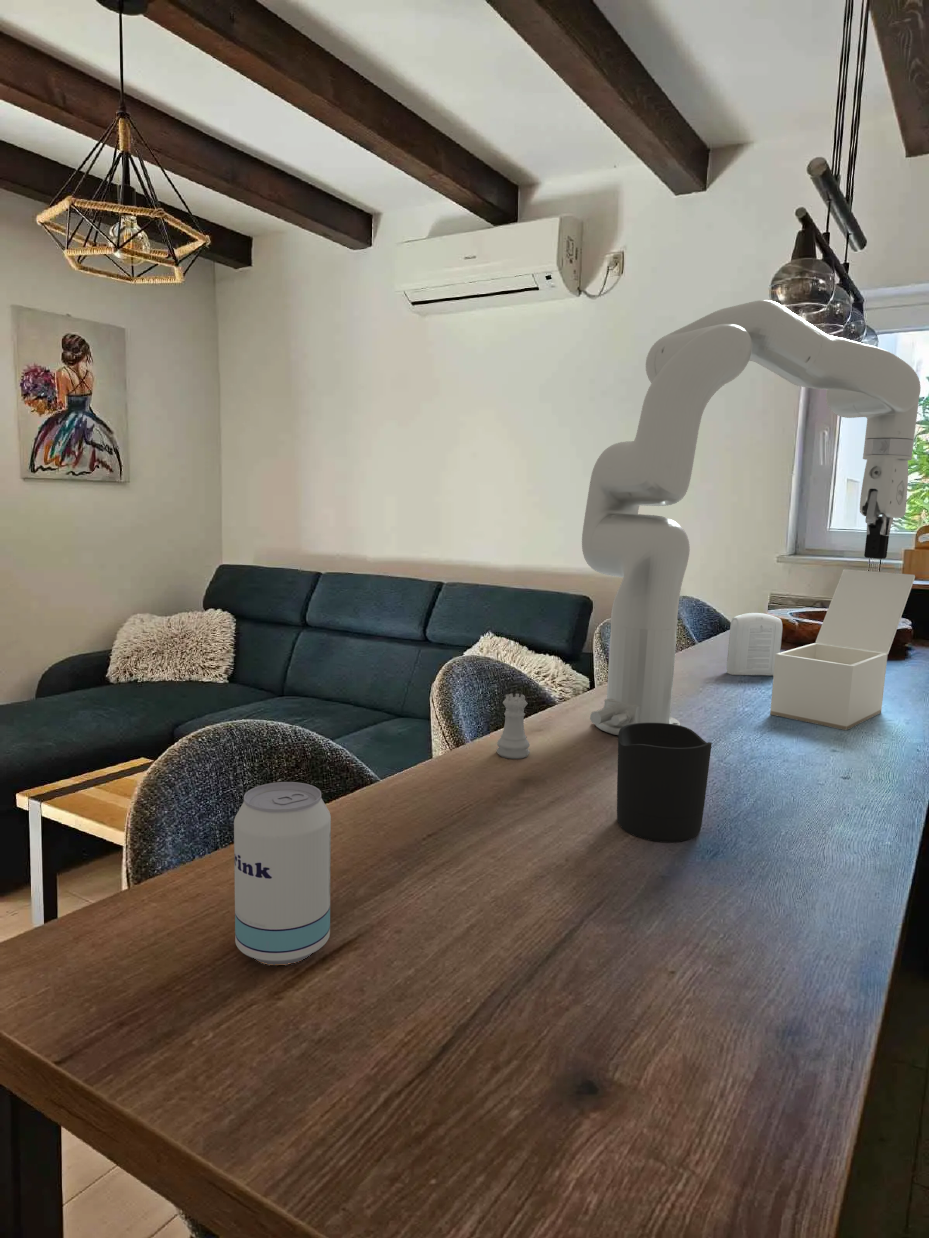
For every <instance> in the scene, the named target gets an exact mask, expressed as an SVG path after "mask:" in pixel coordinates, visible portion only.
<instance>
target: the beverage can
mask: <svg viewBox="0 0 929 1238" xmlns="http://www.w3.org/2000/svg"><path fill="white" fill-rule="evenodd" d="M331 819H332V818H331V812H330V811H329V809H328V807H327V805H326V804H325V802H324V800H323V798H322V791H321V790H320V788H318V787H316V786H314V785H313V784H308V783H304V782H303V783H302V782H295V781H281V782H270V783H265V784H261V785H258V786H255V787H252V788H251V789H249V790H248V791H246V792H245V794H244V795H243V802H242V804H241V806H240V807H239V809H238V811H237V813H236V815H235V816H234V821H233V845H234V847H233V850H234V851H233V852H234V853H233V854H234V855H233V857H234V860H233V862H234V864H233V865H234V933H235V934H234V936H235V937H234V940H235V945H236V947H237V949H238V950H239V952H241V953H242V954H244V955H245V956H247V957H249V958H251V959H253V958H254V959H256V960H258V961H260V962H264V963H267V964H273V965H275V964H288V963H294V962H298V961H300V960H303V959H305V958H307V957H308V956H309V957H311V956H312V955H313V954H314V953H315V952H317V951H319V950H320V949H321V948H322V947H324V946H325V944H326V943H327V942H328V941H329V939H330V937H331V936H330V935H331V855H332V853H331V847H332V845H331V842H332V841H331V838H332V836H331V835H332V834H331V827H332V826H331V825H332V824H331V823H332V820H331ZM312 953H313V954H312ZM311 954H312V955H311ZM310 955H311V956H310ZM309 957H308V958H309ZM308 958H307V959H308ZM254 959H253V960H254ZM256 960H255V961H256ZM305 960H306V959H305ZM303 961H304V960H303ZM298 963H299V962H298Z"/></svg>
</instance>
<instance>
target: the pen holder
mask: <svg viewBox="0 0 929 1238" xmlns="http://www.w3.org/2000/svg"><path fill="white" fill-rule="evenodd" d="M617 736H618V737H617V771H616V774H617V775H616V776H617V777H616V779H617V782H616V784H617V785H616V819H617V820H616V821H617V823H618V824H619V826H620V827H621V829H622V830H623V831H625V832H626V833H629V834H630V835H632V836H634V835H635V836H636V837H638V838H641V839H644V838H645V839H644V840H648V839H649V840H648V841H653V840H656V841H655V842H660V841H662V843H679V842H680V843H681V842H685V840H686V841H689V840H692V839H693V838H695V837H696V836H697V835H698V834H699V833H700V831H701V830H702V824H703V815H704V810H705V809H704V808H705V802H706V794H707V786H708V777H709V768H710V759H711V752H712V744H713V743H712V742H710V741H709V742H708V741H705V740H704V739H703V738H702V737H701V736H700V735H699V734H697V733H696V732H695V731H693V729H691V728H688V727H686V726H683V725H681V726H680V725H675V724H667V723H635V724H629V725H626V726H623V727H622V728H621V729H620V730H619V734H618V735H617ZM635 836H634V837H635ZM691 838H692V839H691ZM688 839H689V840H688Z"/></svg>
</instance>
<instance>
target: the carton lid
mask: <svg viewBox="0 0 929 1238" xmlns="http://www.w3.org/2000/svg"><path fill="white" fill-rule="evenodd" d="M915 575H916V574H909V573H898V572H897V573H896V572H895V573H894V572H885V571H873V570H872V571H871V570H863V569H862V570H858V569H848V568H843V570H842V572H841V575H840V577H839V581H838V583H837V585H836V588H835V590H834V593H833V596H832V598H831V600H830V603H829V606H828V609H827V610H826V614H825V616H824V619H823V621H822V624H821V626H820V629H819V632H818V634H817V637H816V639H815V643H817V644H824V645H831V646H838V647H845V648H852V649H859V650H866V651H872V652H879V653H886V654H888V655H889V653H890V650H891V647H892V644H893V642H894V638H895V636H896V633H897V630H898V628H899V625H900V622H901V618H902V615H903V613H904V610H905V607H906V604H907V601H908V598H909V597H910V593H911V591H912V587H913V584H914V581H915V578H916V576H915Z"/></svg>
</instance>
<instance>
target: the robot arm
mask: <svg viewBox="0 0 929 1238" xmlns="http://www.w3.org/2000/svg"><path fill="white" fill-rule="evenodd" d="M749 362H753V363H756V364H758V365H760V366H762V367H763V368H765V369H767V370H769V372H773V373H774V374H775V375H777V376H779V377H781V378H782V379H784V380H785V381H787V382H789V383H790V384H793V385H795V386H797V387H803V388H809V389H815V390H826V392H825V401H826V405H827V406H828V407H827V408H828V409H829V410H830V411H831V412H832V413H833V414H835V415H836V416H839V417H842V418H845V419H846V418H847V419H854V418H866V425H865V426H866V427H865V437H864V438H865V439H864V446H863V454H862V459H863V460H864V461H865V460H866V463H865V468H864V472H863V479H862V483H861V485H862V486H861V490H860V491H861V492H860V498H859V499H860V500H859V512H860V514H861V515H862V516H863V517H865V523H866V535H865V536H866V537H865V544H864V545H865V546H864V554H863V556H864V558H867V559H877V560H882V559H883V560H885V559H886V558H887V557H888V555H887V554H888V547H889V540H890V533H891V527H892V524H893V523H894V518H895V519H896V518H897V519H902V518H903V517H904V516H905V515H906V511H907V499H908V488H909V487H908V483H909V461H912V458H913V457H912V456H913V451H914V450H913V449H914V443H915V441H914V440H915V433H916V425H917V417H918V408H919V400H920V396H921V395H920V394H921V382H920V378H919V376H918V374H917V372H916V371H915V369H914V368H913V367H912V366H911V365H910V364H909V363H908V362H906V361H904V360H903V359H902V358H900V357H899V356H897V355H895V354H894V353H893V352H890V351H889V350H886V349H883V348H880V347H877V346H875V345H871V344H868V343H864V342H863V343H862V342H858V341H855V340H850V339H847V338H844V337H838V336H834V335H829V334H827V333H825V332H824V331H822V330H820V329H819V328H818V327H816V326H814V325H813V324H812V323H810V322H808V321H807V320H805V319H803V318H802V317H801V316H799V315H798V314H796V313H794V312H792V311H791V310H790V309H789V308H787V307H786V306H784V305H782V304H780V303H779V302H776V301H773V300H770V299H769V300H768V299H760V300H754V301H750V302H745V303H741V304H737V305H733V306H728V307H724V308H721V309H719V310H716V311H713V312H711V313H709V314H707V315H705V316H703V317H701V318H699V319H697V320H694V321H693V322H691V323H689V324H687V325H685V326H683V327H679V329H676V330H674V331H673V332H672V331H671V332H670V333H668V334H666V335H664V336H662V337H660V338H659V339H658V340H657V341H655V342H654V343H653V345H652V346H651V347H650V349H649V351H648V353H647V356H646V359H645V371H646V377H647V378H648V381H650V386H649V387H648V389H647V391H646V394H645V396H644V400H643V402H642V403H643V404H642V406H641V407H642V408H641V411H640V416H639V421H638V426H637V430H636V434H635V438H634V440H632V441H631V440H630V441H629V440H628V441H620V442H617V443H613V444H611V445H610V446H608V447H607V448H605V449H604V450H603V451H602V452H601V454H600V455H599V456H598V458H597V460H596V461H595V464H594V465H593V469H592V471H591V476H590V480H589V484H588V485H589V486H588V493H587V499H586V505H585V513H584V519H583V525H582V533H581V549H582V555H583V558H584V560H585V561H586V564H588V566H589V567H590V568H591V569H592V570H593V571H595V572H597V573H600V574H602V575H607V576H611V577H618V578H622V579H621V580H622V581H621V582H620V585H619V587H618V589H617V592H616V594H615V595H614V599H613V602H612V607H611V613H610V614H611V615H610V633H609V634H610V637H609V651H608V652H609V653H608V668H607V669H608V670H607V688H606V698H605V699H604V703H603V704H604V705H603V708H602V709H598V710H594V711H593V712H591V713H590V716H589V719H590V722H591V723H592V724H593V725H594V726H596V728H597V729H599V730H601V731H603V732H605V733H608V734H611V735H614V736H618V734H619V730H620V729H621V728H622V727H623V726H626V725H629V724H635V723H667V724H675V725H680V726H682V724H681V722H680V721H679V720H678V719H677V718H674V717H672V716H671V715H672V701H673V689H674V688H673V687H674V684H673V683H674V674H675V661H676V660H675V659H676V658H675V657H676V648H677V647H676V645H677V631H678V613H679V606H680V605H679V603H680V595H681V592H682V591H681V590H682V585H683V582H684V581H683V580H684V577H685V573H686V570H687V566H688V562H689V557H690V550H691V549H690V539H689V538H688V535H687V532H686V531H685V529H684V528H683V527H682V526H681V525H680V524H679V523H678V522H677V521H675V520H673V519H672V518H668V517H666V516H661V515H655V514H641V513H640V514H639V509H640V506H644V507H645V506H647V507H648V506H649V507H665V506H671V505H674V504H677V503H679V502H680V501H682V499H684V497H685V496H686V495H687V492H688V491H689V487H690V485H691V484H690V483H691V479H692V474H693V467H694V461H695V455H696V449H697V443H698V438H699V437H698V436H699V430H700V427H701V422H702V421H701V420H702V417H703V414H704V412H705V409H706V407H707V405H708V403H709V402H710V400H711V399H712V397H713V396H714V395H715V394H716V393H717V391H719V390H720V389H721V388H722V387H723V386H725V385H726V384H729V383H730V382H732V381H733V380H735V379H737V377H739V376H740V375H741V374H742V373H743V371H744V370H745V369H746V367H747V366H748V364H749Z"/></svg>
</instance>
